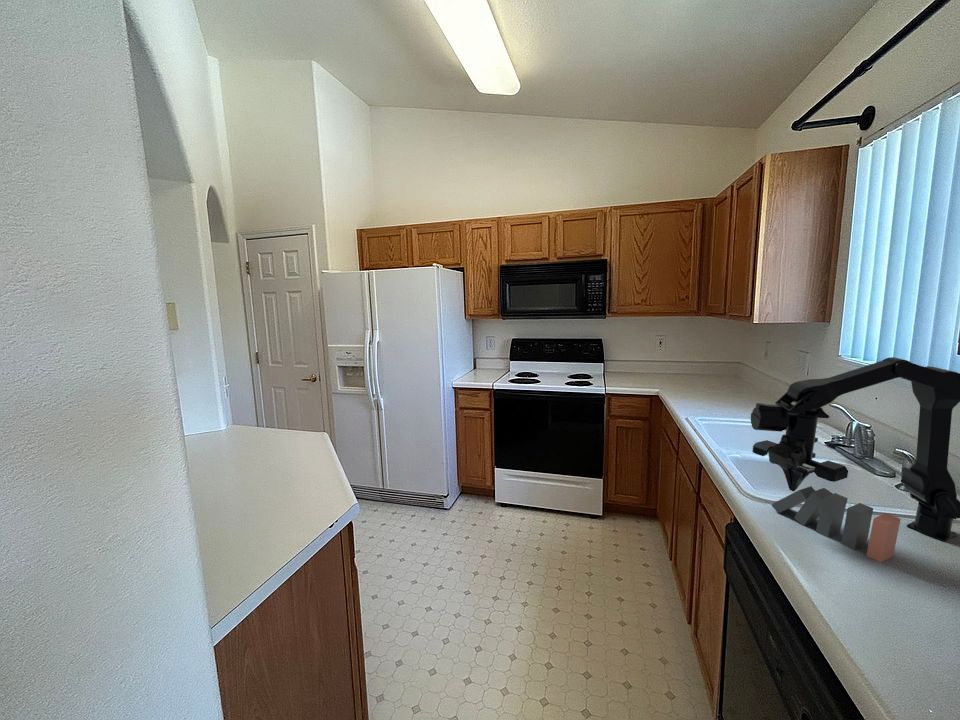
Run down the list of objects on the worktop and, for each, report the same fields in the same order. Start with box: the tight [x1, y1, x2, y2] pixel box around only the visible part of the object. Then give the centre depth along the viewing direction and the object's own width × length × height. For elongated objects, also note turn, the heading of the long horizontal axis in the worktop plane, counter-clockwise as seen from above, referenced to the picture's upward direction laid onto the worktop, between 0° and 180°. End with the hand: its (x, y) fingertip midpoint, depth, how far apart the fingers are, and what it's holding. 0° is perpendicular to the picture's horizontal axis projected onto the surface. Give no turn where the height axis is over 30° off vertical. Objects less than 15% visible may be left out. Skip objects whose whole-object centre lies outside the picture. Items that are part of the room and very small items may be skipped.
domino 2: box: [793, 487, 834, 526], centre depth 97 cm, size 2×5×9 cm, turn 113°
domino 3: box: [815, 492, 848, 538], centre depth 93 cm, size 2×5×9 cm, turn 113°
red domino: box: [866, 513, 902, 564], centre depth 85 cm, size 2×5×9 cm, turn 113°
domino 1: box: [771, 485, 816, 514], centre depth 101 cm, size 2×5×9 cm
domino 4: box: [840, 502, 874, 551], centre depth 89 cm, size 2×5×9 cm, turn 113°
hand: (792, 490), depth 101 cm, fingers closed
